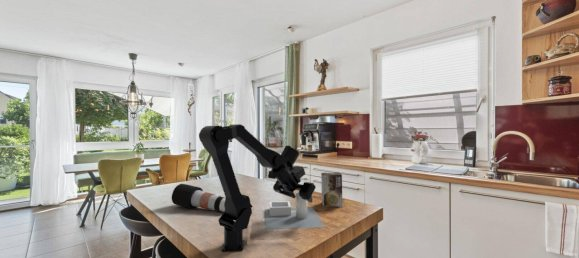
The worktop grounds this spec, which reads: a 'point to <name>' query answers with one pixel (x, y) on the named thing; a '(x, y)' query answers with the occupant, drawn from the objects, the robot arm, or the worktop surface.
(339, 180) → the coffee box
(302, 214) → the white cylindrical bottle
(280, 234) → the worktop surface
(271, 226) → the board
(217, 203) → the telephoto camera lens
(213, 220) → the worktop surface
